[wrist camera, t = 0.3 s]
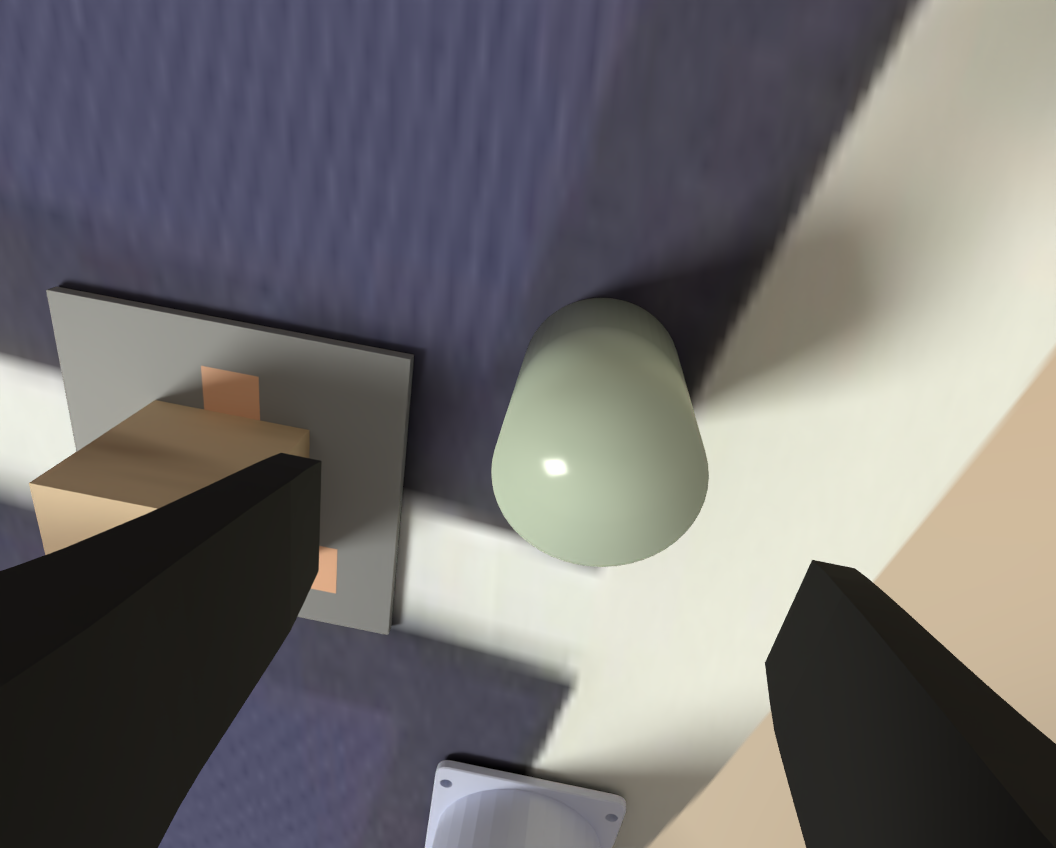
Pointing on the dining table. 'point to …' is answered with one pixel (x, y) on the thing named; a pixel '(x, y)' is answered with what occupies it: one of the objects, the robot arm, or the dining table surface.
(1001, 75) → the dining table surface
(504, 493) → the sage cylinder
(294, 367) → the letter tile
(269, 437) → the oak block
